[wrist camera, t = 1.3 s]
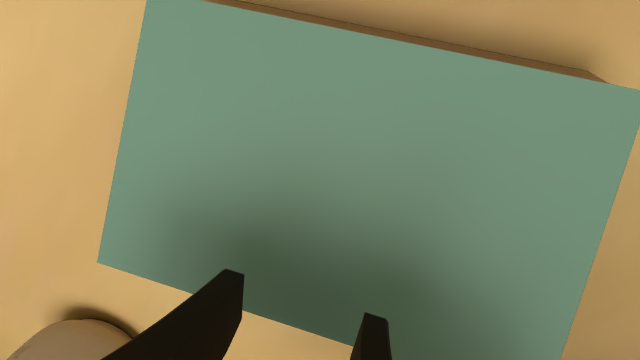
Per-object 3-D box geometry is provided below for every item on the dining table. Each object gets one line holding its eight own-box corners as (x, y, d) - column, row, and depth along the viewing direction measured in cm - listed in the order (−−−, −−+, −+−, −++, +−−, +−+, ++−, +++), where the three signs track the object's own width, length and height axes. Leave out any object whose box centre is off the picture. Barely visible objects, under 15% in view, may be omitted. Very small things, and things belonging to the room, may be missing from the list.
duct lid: (631, 96, 11) (650, 92, 10) (532, 392, 12) (543, 408, 11) (162, -1, 13) (148, -11, 13) (112, 256, 14) (96, 262, 14)
